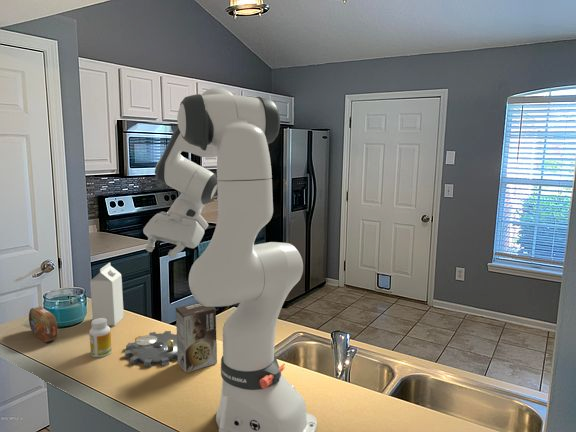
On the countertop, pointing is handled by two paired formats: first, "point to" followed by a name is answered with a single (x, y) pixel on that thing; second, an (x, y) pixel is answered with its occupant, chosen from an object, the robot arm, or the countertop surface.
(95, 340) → the supplement bottle
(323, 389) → the countertop surface
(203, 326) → the coffee box
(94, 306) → the milk carton
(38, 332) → the tin
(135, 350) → the sprocket
